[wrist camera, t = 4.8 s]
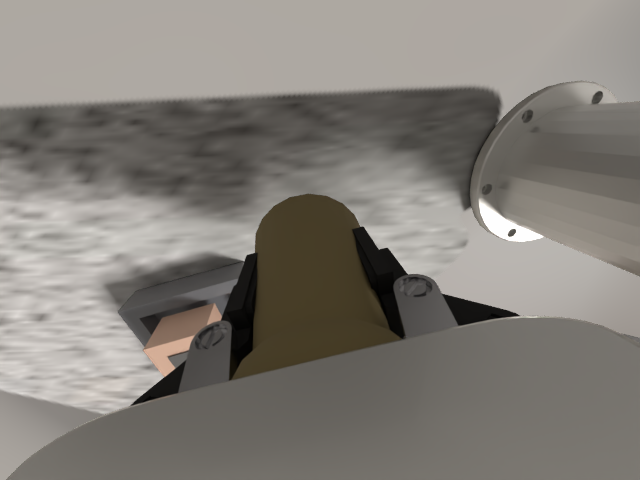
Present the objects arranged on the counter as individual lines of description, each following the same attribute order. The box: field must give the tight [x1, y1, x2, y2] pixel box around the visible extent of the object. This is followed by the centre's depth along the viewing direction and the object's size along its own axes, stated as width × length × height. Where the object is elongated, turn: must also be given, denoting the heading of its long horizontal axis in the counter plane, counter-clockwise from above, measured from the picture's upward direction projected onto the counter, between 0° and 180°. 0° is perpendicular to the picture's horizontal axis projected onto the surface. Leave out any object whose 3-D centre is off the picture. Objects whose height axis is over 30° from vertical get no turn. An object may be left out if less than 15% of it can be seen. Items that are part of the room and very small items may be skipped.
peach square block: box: [143, 303, 222, 377], centre depth 18 cm, size 4×4×3 cm
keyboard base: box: [118, 261, 244, 347], centre depth 23 cm, size 9×19×2 cm, turn 13°
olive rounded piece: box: [232, 194, 401, 380], centre depth 9 cm, size 6×6×11 cm
